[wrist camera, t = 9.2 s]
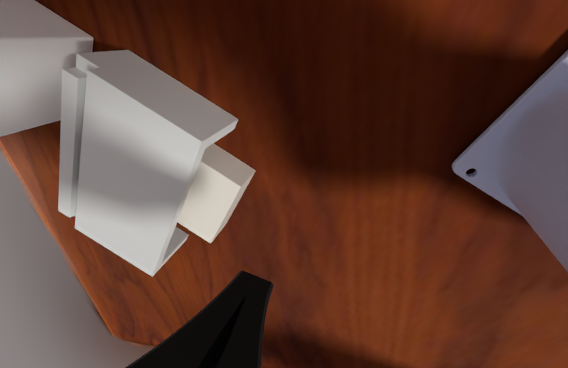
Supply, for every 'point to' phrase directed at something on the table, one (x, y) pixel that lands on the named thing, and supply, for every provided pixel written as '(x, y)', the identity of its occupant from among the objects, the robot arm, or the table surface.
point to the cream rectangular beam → (214, 192)
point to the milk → (34, 63)
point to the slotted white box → (131, 153)
